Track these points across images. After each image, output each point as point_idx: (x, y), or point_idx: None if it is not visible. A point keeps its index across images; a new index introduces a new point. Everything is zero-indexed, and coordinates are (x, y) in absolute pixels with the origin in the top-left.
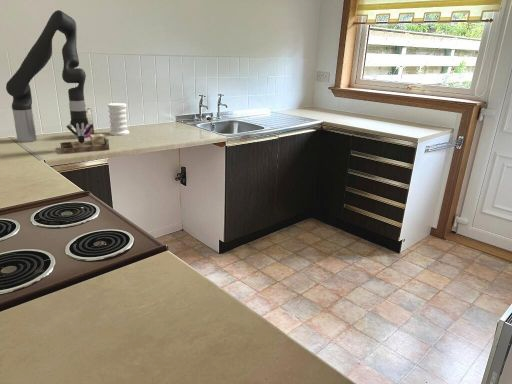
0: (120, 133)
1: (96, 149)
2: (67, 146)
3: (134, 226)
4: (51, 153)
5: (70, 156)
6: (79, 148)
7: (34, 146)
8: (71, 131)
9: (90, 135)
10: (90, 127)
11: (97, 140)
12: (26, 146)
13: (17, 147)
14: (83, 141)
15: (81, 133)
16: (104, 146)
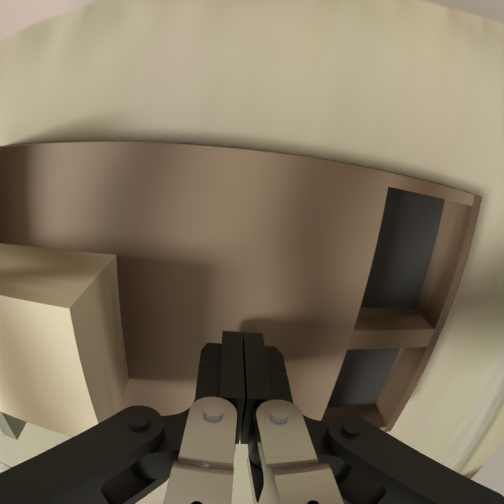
0: (2, 471)
1: (108, 141)
2: (392, 324)
3: None
4: (497, 246)
5: (421, 48)
6: (317, 160)
7: (457, 434)
8: (425, 459)
9: (95, 414)
10: (15, 492)
11: (31, 269)
12: (475, 435)
13: (500, 422)
14: (216, 345)
15: (234, 440)
16: (14, 145)
